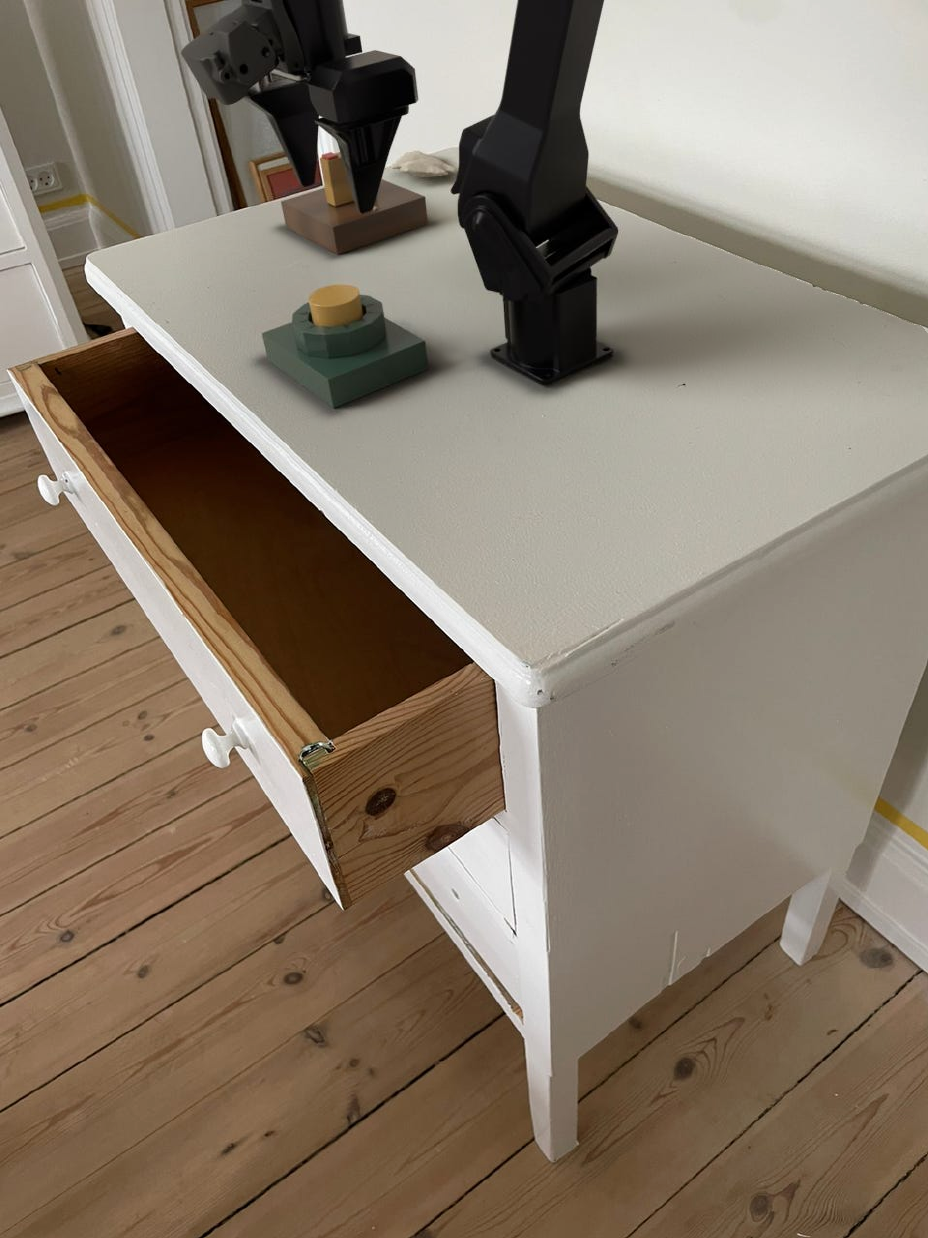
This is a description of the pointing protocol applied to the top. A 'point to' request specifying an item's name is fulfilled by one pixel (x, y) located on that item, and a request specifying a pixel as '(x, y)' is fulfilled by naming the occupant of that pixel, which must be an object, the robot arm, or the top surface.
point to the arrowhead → (422, 165)
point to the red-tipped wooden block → (335, 179)
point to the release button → (335, 305)
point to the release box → (345, 353)
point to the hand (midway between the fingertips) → (335, 198)
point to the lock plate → (354, 218)
